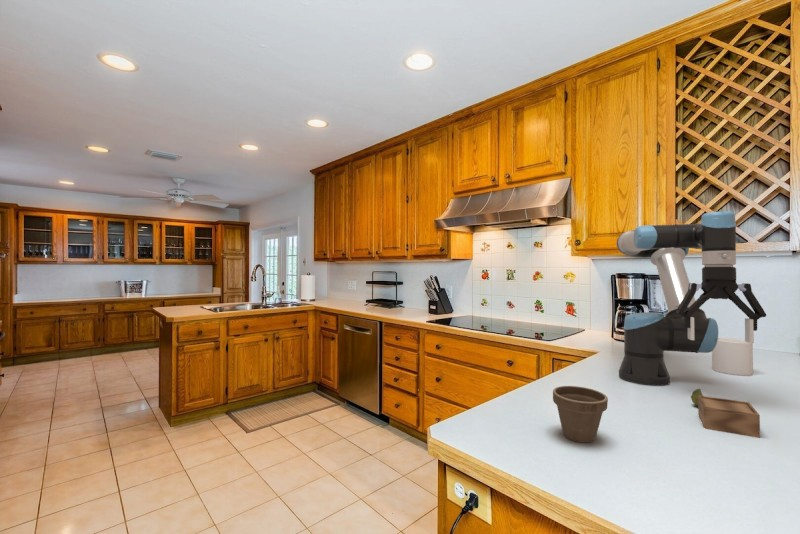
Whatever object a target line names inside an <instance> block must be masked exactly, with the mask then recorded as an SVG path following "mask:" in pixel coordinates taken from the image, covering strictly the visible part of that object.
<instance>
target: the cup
mask: <svg viewBox="0 0 800 534" xmlns="http://www.w3.org/2000/svg"><path fill="white" fill-rule="evenodd" d="M753 345H754V343H748V342H745V339H742V338H733V337H732V338H731V337H718V341H717V344H716V347H715V348H714V350H713V351H711V368H712V371H713V372H717V373H720V374H725V375H732V376H738V377H739V376H741V377H751V376H753V374H754V350H753V349H754V348H753V347H754V346H753Z"/></svg>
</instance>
